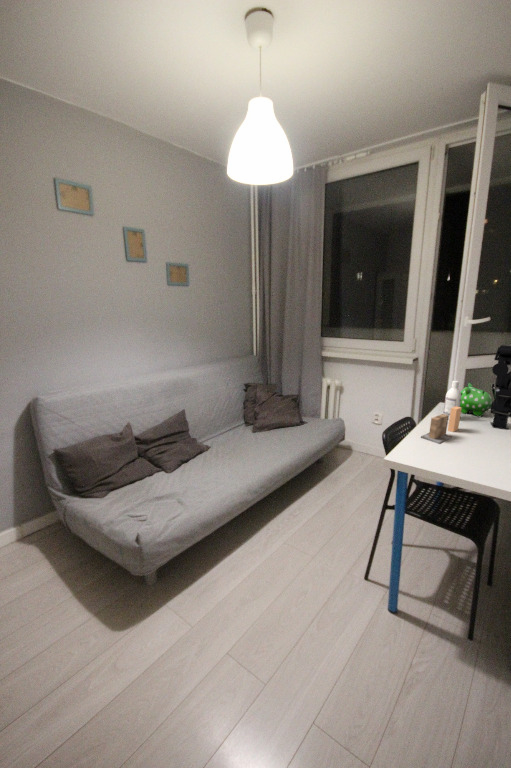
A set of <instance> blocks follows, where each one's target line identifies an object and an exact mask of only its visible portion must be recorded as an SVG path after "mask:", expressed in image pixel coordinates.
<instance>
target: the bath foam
mask: <svg viewBox="0 0 511 768" xmlns="http://www.w3.org/2000/svg"><path fill="white" fill-rule="evenodd" d="M459 384H460V381H459V380H452V382H451V387H450V388H449V389H448V391H447V392H446V393H445V397H444V398H445V400H444V405H443V411H442V414H445V415H449V417H448V421H449V418H450V412H451V408H453V407H455V406H457V407H460V402H461V393H460V392H461V391H460V390H459Z"/></svg>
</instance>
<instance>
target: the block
mask: <svg viewBox="0 0 511 768" xmlns="http://www.w3.org/2000/svg"><path fill="white" fill-rule="evenodd" d="M461 409H462V408H461V407H457V406H455V407H453V408H451V412H450V418H449V420H448V424H447V431H448V432H452V433H455V432H456V431H458V430H459V425H460V421H461V414H462V413H461Z"/></svg>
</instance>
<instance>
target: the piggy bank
mask: <svg viewBox="0 0 511 768" xmlns="http://www.w3.org/2000/svg"><path fill="white" fill-rule="evenodd" d="M460 393H461V402H460V407H461V408H462V409H461V414H463V415H467V414H468V413H469V412H472V414H473V415H474V416H476V417H483V415H484V414H485V413H486V412H488V411H489V410H491V404H492V402H493V398H492V396H491V394H489V392H487V391H485V390H483V389H479V388H476V387H474V385H473V384H472V383H468V384H467V386H465V387H464V388H463V389H462V390H461V391H460Z"/></svg>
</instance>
